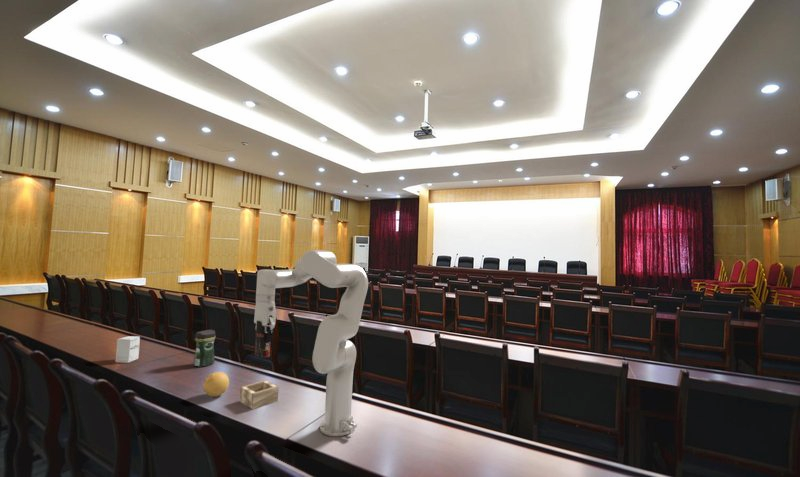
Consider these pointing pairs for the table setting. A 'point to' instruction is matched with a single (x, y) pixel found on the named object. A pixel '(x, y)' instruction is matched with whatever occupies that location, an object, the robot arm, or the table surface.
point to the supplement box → (127, 349)
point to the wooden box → (259, 394)
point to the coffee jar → (204, 348)
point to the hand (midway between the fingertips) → (263, 340)
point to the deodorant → (261, 342)
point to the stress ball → (216, 384)
